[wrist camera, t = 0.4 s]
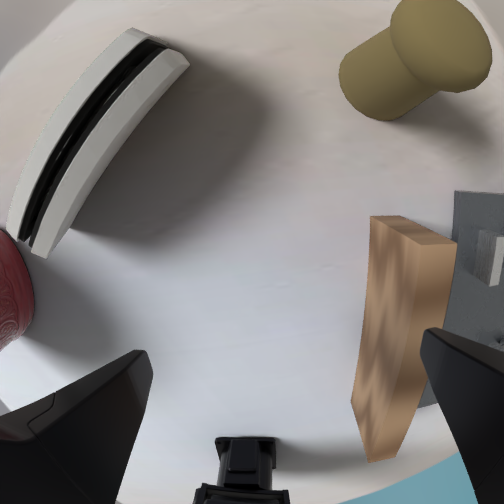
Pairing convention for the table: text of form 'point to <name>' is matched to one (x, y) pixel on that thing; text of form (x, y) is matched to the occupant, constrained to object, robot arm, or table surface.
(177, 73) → the white curved block
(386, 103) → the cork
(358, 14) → the table surface
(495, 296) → the plate
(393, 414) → the cabinet door
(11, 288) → the canister
